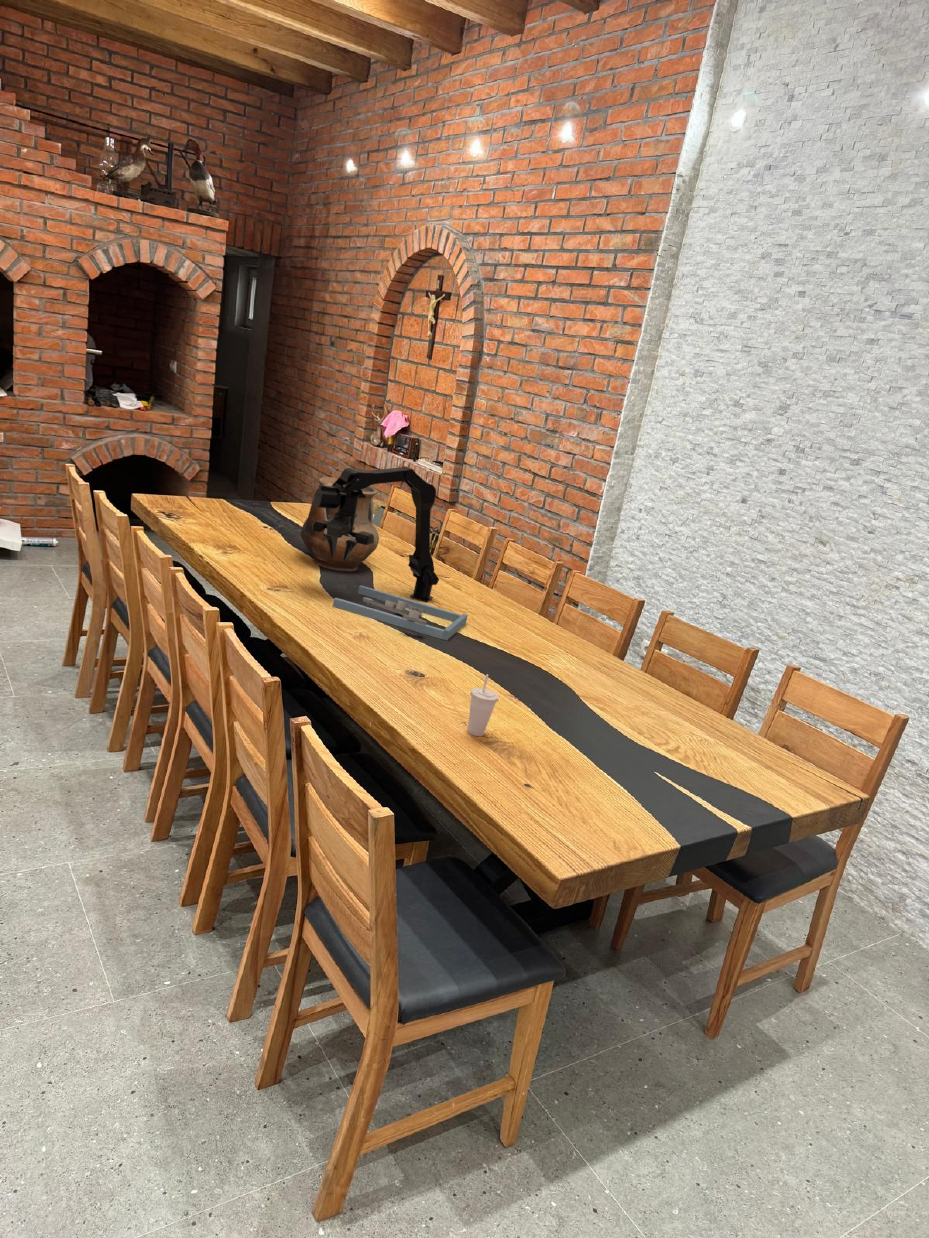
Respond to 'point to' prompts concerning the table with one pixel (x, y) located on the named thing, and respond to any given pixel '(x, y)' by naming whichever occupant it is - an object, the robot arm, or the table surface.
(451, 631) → the track
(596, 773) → the table surface
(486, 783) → the table surface
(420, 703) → the table surface
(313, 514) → the jug
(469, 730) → the smoothie
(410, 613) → the pulley system
